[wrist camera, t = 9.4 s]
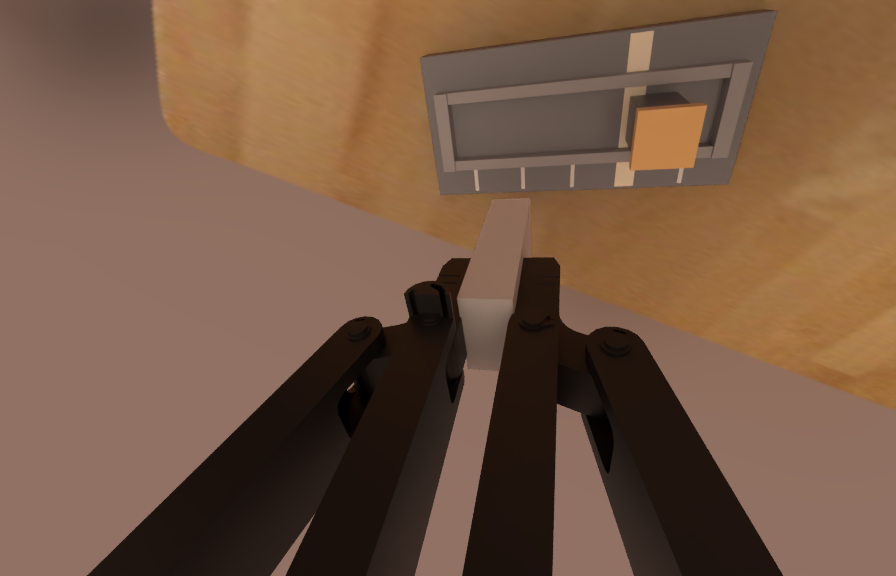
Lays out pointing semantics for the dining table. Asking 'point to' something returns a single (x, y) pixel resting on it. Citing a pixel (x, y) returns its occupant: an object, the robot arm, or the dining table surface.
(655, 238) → the dining table surface
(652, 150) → the fader tab
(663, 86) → the console board
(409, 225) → the dining table surface
